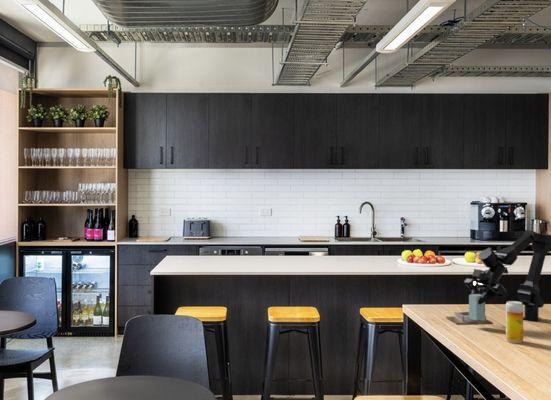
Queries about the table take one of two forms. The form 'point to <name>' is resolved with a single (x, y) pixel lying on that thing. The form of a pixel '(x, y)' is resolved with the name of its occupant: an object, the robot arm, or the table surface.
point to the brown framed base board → (466, 319)
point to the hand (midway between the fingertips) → (474, 302)
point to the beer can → (514, 322)
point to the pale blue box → (476, 307)
